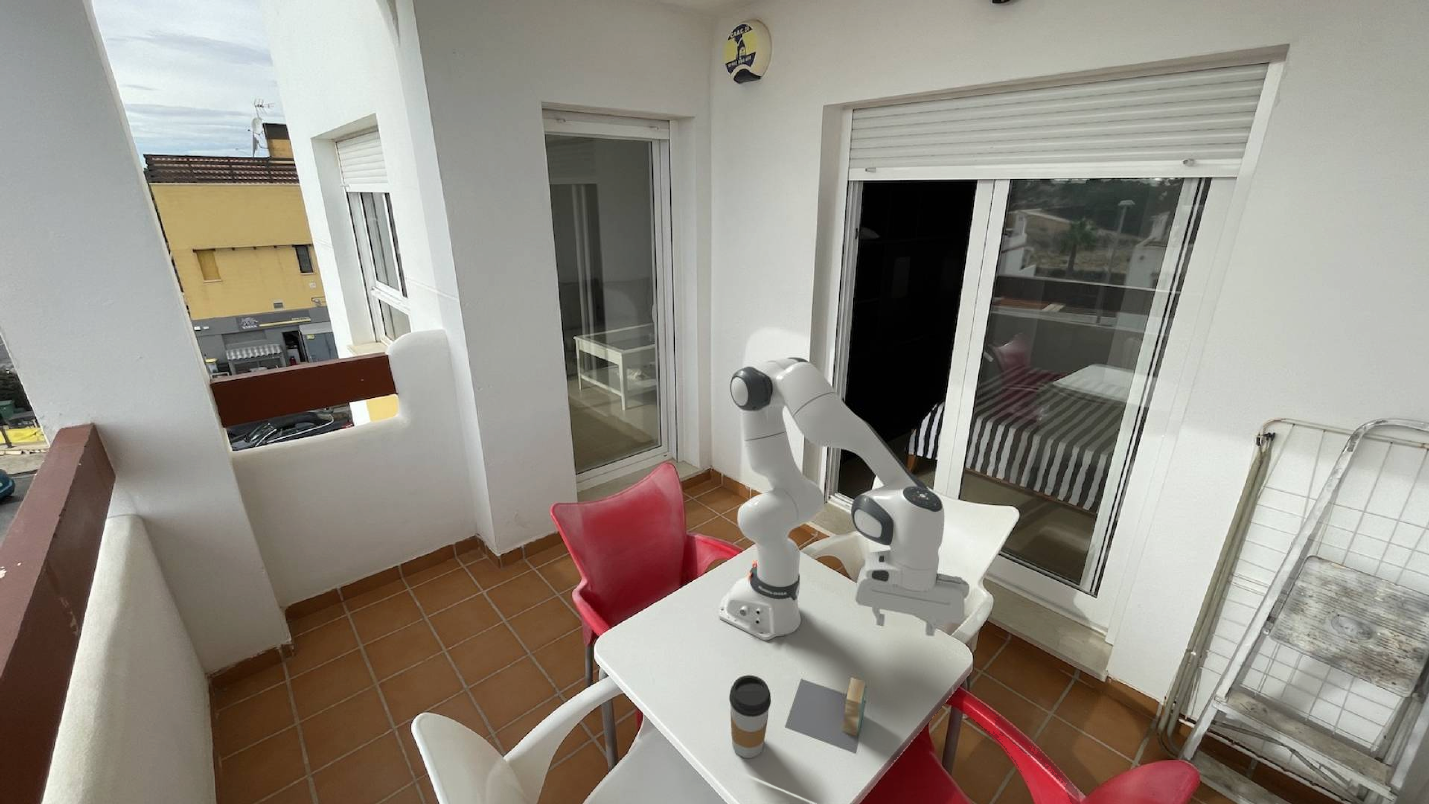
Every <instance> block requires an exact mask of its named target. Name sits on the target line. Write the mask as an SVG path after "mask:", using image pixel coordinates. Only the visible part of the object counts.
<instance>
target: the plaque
mask: <svg viewBox="0 0 1429 804" xmlns="http://www.w3.org/2000/svg"><path fill="white" fill-rule="evenodd" d="M866 689H867V685H866V681H864V680H860V679H858V678H854V677H851V678H850V682H849V687H848V691H847V693H846V694H847V699H846V707H845V714H844V722H843V729H842V731H843V732H846V733H849V734H852V735H854V736H857V733H859V728H860V723H861V718H862V712H863V705H864V700H865V698H866ZM862 719H863V718H862Z"/></svg>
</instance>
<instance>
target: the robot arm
mask: <svg viewBox="0 0 1429 804" xmlns="http://www.w3.org/2000/svg"><path fill="white" fill-rule="evenodd" d="M729 387H730V388H729V391H730V396H731V398H732V400H733V402H734V404H735V405H736V406H737V407H738V408H739V410H740V424H741V431H742V437H743V441H744V447H745V449H746V451H745V452H746V455H747V459H748V463H749V464H748V465H749V467H750V468H751V470H752V471H753V472H754V473H755V474H758V475H759V476H762V477H765V478H766V479H767V481H768V483H769V485H770V487H771V490H768V491H766V492H764V493H760V494H758V495H755V496H753V497H752V498H750V499H749V500H747V501H746V502H744V503H743V504H742V505H740V507H739V508H738V511H737V526H738V528H739V530H740V532H741V533H742V534H743V535H744V537H746V538H747V539H748V540H750V541H751V542H753V543H755V546H756V550H757V551H756V552H757V554H756V557H757V558H756V559H755V560H753V563H752V564H751V566H752V567H751V569H750V570H749V574H748V576H745V577H740V579H738V580H737V581H736V582H735V583H734V585H732V587H731V589H730V590H729V591H727V592H726V594H725V595H724V596H723V598H722V599H721V601H720V603H719V607H718V612H717V613H718V618H719V619H720V620H722V621H724V622H726V623H728V624H730V625H731V626H734V627H736V628H738V629H740V630H742V631H745V632H746V633H748V634H750V635H753V636H755V637H756V638H758V639H760V640H763V641H769V640H772V639H773V638H775V637H781V636H786V635H790V634H792V633H794V632H795V631H796V630H797V629H798V628H799V627H800V626H801V622H802V617H801V614H800V609H799V599H798V596H799V594H800V589H801V588H800V587H801V577H800V572H799V571H800V560H801V550H800V549H799V546H798V545H797V543H796V542H795V541H794V540H792V538H789V535H790V533H791V531H793V530H794V529H796V528H798V527H800V526H802V525H805V524H807V523H809V522H811V521H812V520H814V519H815V518H817V516H818V515H820V514H821V513H822V512H823V511H824V508H825V497H824V493H823V491H822V489H821V488H820V486H819V485H818V484H817V483H815V482H813V481H812V480H810V479H809V478H807V477H806V476H805V475H804V474H803V472H802V471H801V470H800V468H799V466H798V465H797V464H796V461H795V458H794V455H793V452H792V448H791V443H790V440H789V436H788V431H787V427H786V423H785V421H784V416H783V411H784V408H785V407H786V409H787V410H788V412H789V414H790V416H791V418H792V419H793V421H794V423H795V425H796V426H797V428H798V430H799V431H800V433H801V434H802V436H804V438H805V439H806V440H808V441H809V442H810V443H812V444H814V445H816V446H820V447H823V448H834V449H835V448H836V449H841V450H846V451H849V452H851V453H854V454H856V455H857V456H859V457H860V458H861V459H862V460H863V461H864V462H865V463H866V464H867V466H868V467H869V469H870V470H872V472H873V473H874V475H875V476H876V478H878V479H879V481H880V482H881V484H883V486H881V487H877V488H874V489H871V490H868V491H865V492H863V493H862V494H859V495H857V496H856V497H855V498H854V499H853V501H852V503H851V509H850V515H851V520H852V524H853V526H854V528H855V530H856V531H857V532H858V533H859V534H860V535H861V536H863V537H865V538H866V539H868V540H870V541H873V542H874V543H877V544H880V545H883V546H888V547H889V548H890V549H887V550H886V549H885V550H882V551H881V550H879V551H871V552H868V553H867V554H866V558H865V560H864V561H865V562H864V565H863V566H862V568H861V569H860V572H859V574H858V577H857V581H856V586H855V593H854V601H855V602H856V603H857V605H859V606H863V607H869V608H871V610H872V613H873V614H874V616H875V619H876V624H875V625H876V626H881V627H885V613H881V611H880V610H883V611H884V610H885V611H889V612H895V613H898V614H899V613H901V614H905V615H910V616H916V617H920V618H927V619H932V621H930V622H926V624H925V629H924V630H925V635H926V636H930V637H935V633H936V630H937V629H939V628H940V627H941V626H942V625H943V622H946V623H952V624H957V625H958V624H960V623H962V622H963V621H964V619H965V610H966V609H965V607H966V606H965V605H966V604H965V599H966V598H967V597H968V596H969V593H970V584H969V583H968V581H966V580H965V579H963V578H962V577H961V576H956V575H954V576H953V575H949V574H944V573H939V572H938V571H939V563H940V555H939V549H940V547H941V545H942V543H943V538H944V529H945V508H944V504H943V502H942V499H941V498H940V497H939V495H937V494H936V493H935V492H934V491H932V490H930V488H928V486H927V485H926V484H925V483H924V482H923V481H922V480H921V479H919V477H917V476H916V475H914V474H913V473H912V472H911V471H910V470H909V469H908V468H907V467H906V465H904V463H903V462H902V461H901V460H900V459H899V457H898V456H897V455H896V453H894V451H893V450H892V449H891V447H889V446H888V444H887V443H886V442H885V441H884V439H883V438H882V436H880V435H879V433H878V432H877V431H876V430H875V429H874V428H873V427H872V425H870V424H869V423H868V422H867V421H866V420H864V419H862V418H861V417H859V416H858V415H856V414H855V413H854V411H852V410H851V409H850V408H849V407H848V406H847V405H846V403H844V401H843V400H842V399H841V397H840V396H839V394H838V393H837V391H836V390H835V388H834V387H833V386H832V385H831V383H830V382H829V381H828V379H827V378H826V377H825V376H824V374H823V373H822V372H821V371H820V370H819V369H818V368H817V367H816V366H815V365H814V364H812V363H811V362H809V361H808V360H806V359H805V358H801V357H795V356H793V357H792V356H791V357H787V358H778V359H771V360H768V361H766V362H762V363H758V364H754V365H752V366H750V365H749V366H745V367H743V368H740V369H739V370H737V371H736V372H735V373H733V374H732V377H731V380H730V384H729Z"/></svg>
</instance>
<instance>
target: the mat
mask: <svg viewBox="0 0 1429 804" xmlns="http://www.w3.org/2000/svg"><path fill="white" fill-rule="evenodd" d="M796 689H797V690H796V693H795V696H794V699H793V702H792V704H791V708H790V710H789V714H788V716H787V719H786V723H785V726H784V728H786V729H788V730H791V731H794V732H797V733H799V734H802V735H805V736H807V737H810V738H813V739H816V740H818V741H821V742H824V743H827V744H829V745H832V746H835V747H837V748H839V749H843V750H844V751H848V752H851V753H853V754H857V749H858V744H859V739H860V733H861V729H862V723H863V719H864V718H863V717H864V713H865V708H866V707H865V706H866V699H864V705H863V712H862V718H861V723H860V728H859V733H857V736H854V735H852V734H849V733H846V732H843V731H842V729H843V722H844V714H845V707H846V699H847V694H848V693H844V692H841V691H838V690H836V689H833V688H829V687H827V686H824V685H820V684H817V683H815V682H812V681H809V680H806V679H803V678H800V680H799V684H798V687H797V688H796Z"/></svg>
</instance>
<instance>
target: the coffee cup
mask: <svg viewBox="0 0 1429 804" xmlns="http://www.w3.org/2000/svg"><path fill="white" fill-rule="evenodd" d="M728 698H729V703H730V734H731V744H732V749H733V751H734V752H735V753H736V754H737V755H738V756H740V757H742V758H744V759H753V758H756V757H758V756H759V755H760V754H761V752H762V751H763V748H764V743H765V742H764V741H765V738H766V732H767V724H768V720H769V719H768V718H769V711H770V707H771V704H772V700H771V698H772V696H771V691H770V689H769V686H768V684H767V683H766V681H764V679H762V678H761V677H758V676H756V675H751V674H750V675H749V674H747V675H743V676H740V677H738V678H737V679H736V680H735V681H734V682H733V684H732V685H731V688H730V689H729V697H728Z"/></svg>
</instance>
